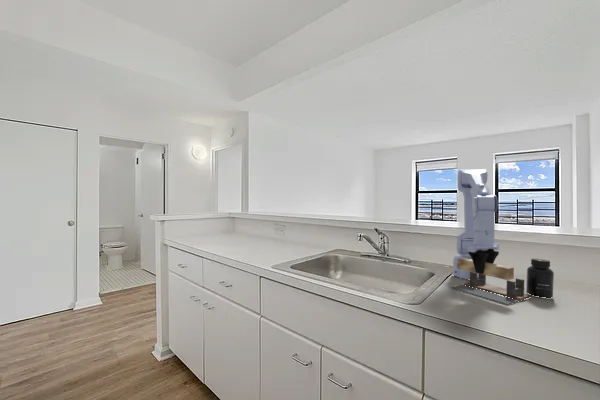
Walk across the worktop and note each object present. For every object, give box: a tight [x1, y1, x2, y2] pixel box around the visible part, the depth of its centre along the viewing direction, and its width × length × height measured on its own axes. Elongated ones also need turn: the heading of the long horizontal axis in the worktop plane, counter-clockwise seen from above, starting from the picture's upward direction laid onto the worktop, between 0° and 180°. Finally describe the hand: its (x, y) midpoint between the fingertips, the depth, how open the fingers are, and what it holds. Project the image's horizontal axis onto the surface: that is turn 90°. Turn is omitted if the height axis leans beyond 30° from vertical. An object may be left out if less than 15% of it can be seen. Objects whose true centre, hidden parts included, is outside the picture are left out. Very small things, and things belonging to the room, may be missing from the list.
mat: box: [450, 284, 520, 306], centre depth 94 cm, size 18×7×1 cm, turn 28°
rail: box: [457, 258, 515, 281], centre depth 94 cm, size 16×4×4 cm, turn 28°
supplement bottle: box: [525, 258, 555, 298], centre depth 94 cm, size 7×7×12 cm
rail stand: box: [463, 272, 533, 302], centre depth 98 cm, size 18×7×6 cm, turn 28°
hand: (483, 272), depth 94 cm, fingers closed on rail, 3 cm apart
